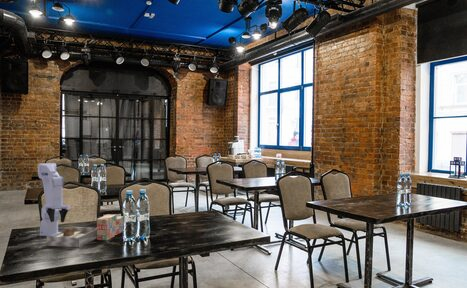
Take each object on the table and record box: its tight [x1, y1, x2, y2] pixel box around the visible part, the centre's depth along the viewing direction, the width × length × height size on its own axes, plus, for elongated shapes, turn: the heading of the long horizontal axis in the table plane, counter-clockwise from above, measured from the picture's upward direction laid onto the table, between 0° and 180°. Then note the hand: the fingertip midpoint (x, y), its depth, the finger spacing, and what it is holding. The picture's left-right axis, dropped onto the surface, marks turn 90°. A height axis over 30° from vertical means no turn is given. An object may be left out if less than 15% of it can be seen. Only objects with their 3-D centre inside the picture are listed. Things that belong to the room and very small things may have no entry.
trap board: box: [46, 226, 97, 248], centre depth 208 cm, size 19×21×5 cm
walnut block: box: [63, 226, 74, 236], centre depth 209 cm, size 4×4×4 cm
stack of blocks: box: [96, 213, 125, 241], centre depth 220 cm, size 21×6×12 cm, turn 171°
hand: (57, 221), depth 210 cm, fingers open, 6 cm apart
